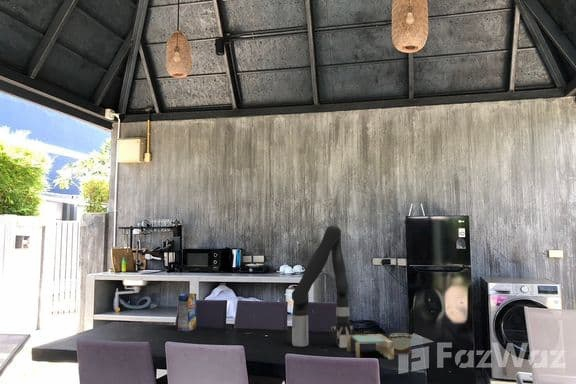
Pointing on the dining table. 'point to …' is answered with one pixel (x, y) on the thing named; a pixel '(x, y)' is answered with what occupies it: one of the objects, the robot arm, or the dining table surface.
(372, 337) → the trapdoor
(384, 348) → the trapdoor frame
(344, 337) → the beige block
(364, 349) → the dining table surface
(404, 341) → the food container
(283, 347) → the dining table surface
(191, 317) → the juice carton
